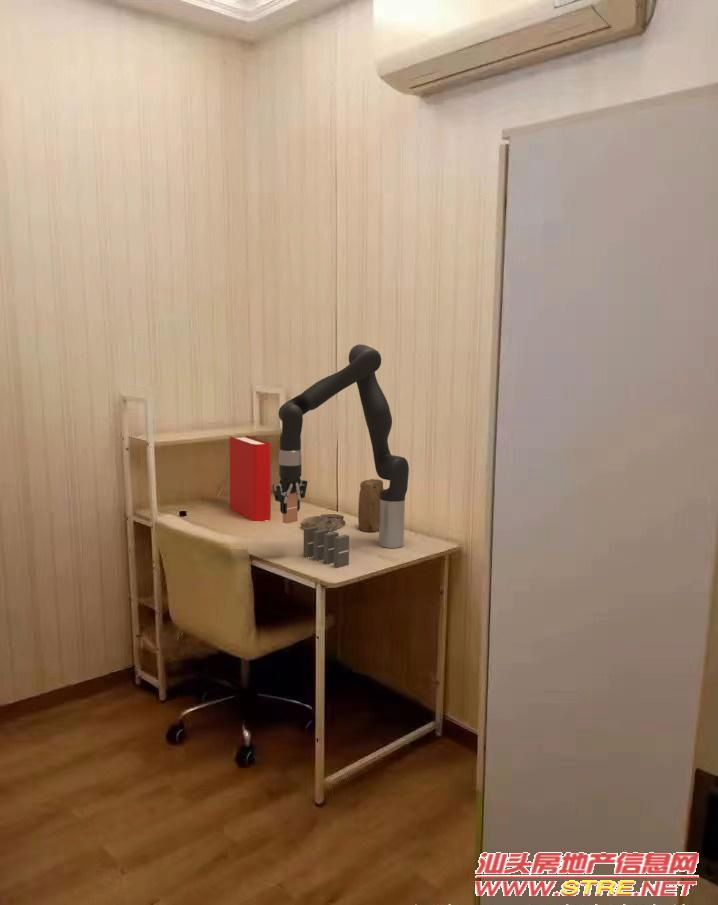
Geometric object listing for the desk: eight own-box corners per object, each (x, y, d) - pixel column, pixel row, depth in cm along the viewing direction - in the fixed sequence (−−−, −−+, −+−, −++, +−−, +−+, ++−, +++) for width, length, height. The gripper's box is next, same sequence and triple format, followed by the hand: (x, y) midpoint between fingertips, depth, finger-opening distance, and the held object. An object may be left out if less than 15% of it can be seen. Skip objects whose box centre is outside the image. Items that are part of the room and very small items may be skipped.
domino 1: (282, 522, 248) (282, 493, 247) (293, 520, 252) (293, 491, 250) (286, 523, 247) (286, 494, 245) (297, 521, 251) (297, 492, 249)
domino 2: (303, 556, 253) (303, 528, 251) (313, 553, 256) (314, 526, 255) (307, 558, 251) (307, 529, 250) (318, 555, 255) (318, 527, 254)
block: (370, 533, 285) (371, 483, 282) (356, 530, 290) (357, 480, 287) (388, 528, 293) (389, 479, 290) (374, 525, 298) (375, 477, 295)
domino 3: (313, 559, 250) (313, 531, 248) (323, 556, 253) (324, 528, 252) (317, 561, 248) (317, 532, 247) (327, 558, 252) (328, 530, 250)
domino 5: (333, 566, 243) (334, 537, 241) (344, 563, 246) (344, 534, 245) (338, 567, 241) (338, 538, 240) (348, 564, 245) (349, 535, 243)
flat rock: (329, 520, 306) (295, 528, 291) (330, 509, 305) (296, 516, 290) (355, 527, 297) (321, 535, 282) (355, 515, 296) (322, 523, 281)
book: (229, 508, 322) (229, 436, 317) (247, 506, 326) (246, 435, 321) (254, 522, 299) (253, 444, 294) (272, 520, 303) (272, 443, 298)
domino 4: (323, 563, 246) (323, 534, 245) (333, 560, 250) (334, 531, 248) (327, 564, 245) (328, 535, 243) (338, 561, 248) (338, 532, 247)
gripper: (281, 466, 239) (281, 517, 241) (313, 461, 249) (313, 510, 252) (266, 463, 244) (266, 513, 246) (298, 459, 254) (298, 507, 257)
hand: (290, 511), depth 249 cm, fingers closed on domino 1, 5 cm apart
